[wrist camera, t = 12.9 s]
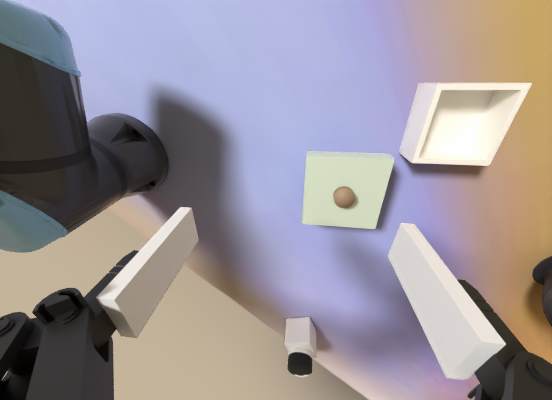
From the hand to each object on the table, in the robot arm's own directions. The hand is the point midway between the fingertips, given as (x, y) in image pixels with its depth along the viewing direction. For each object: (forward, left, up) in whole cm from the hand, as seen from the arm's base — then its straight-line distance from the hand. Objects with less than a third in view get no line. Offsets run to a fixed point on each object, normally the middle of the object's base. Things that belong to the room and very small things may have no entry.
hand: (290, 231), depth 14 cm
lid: (+7, -7, -21) cm, 24 cm away
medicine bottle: (+3, -54, -26) cm, 60 cm away
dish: (+21, +3, -25) cm, 33 cm away
